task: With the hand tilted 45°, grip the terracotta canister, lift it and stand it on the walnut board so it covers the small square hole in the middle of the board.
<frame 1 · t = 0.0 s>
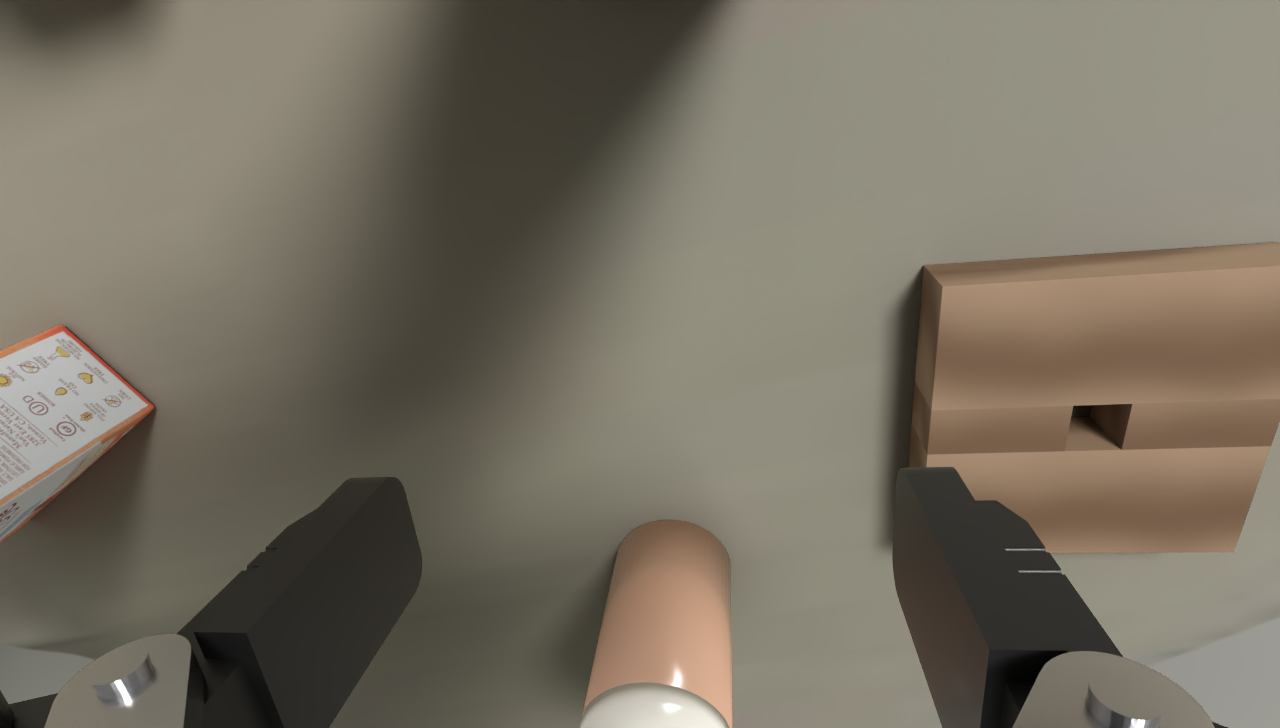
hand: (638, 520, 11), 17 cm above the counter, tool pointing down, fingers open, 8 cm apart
walnut board: (1067, 396, 27), on the counter
terracotta canister: (673, 565, 33), on the counter
cracker box: (53, 430, 35), on the counter
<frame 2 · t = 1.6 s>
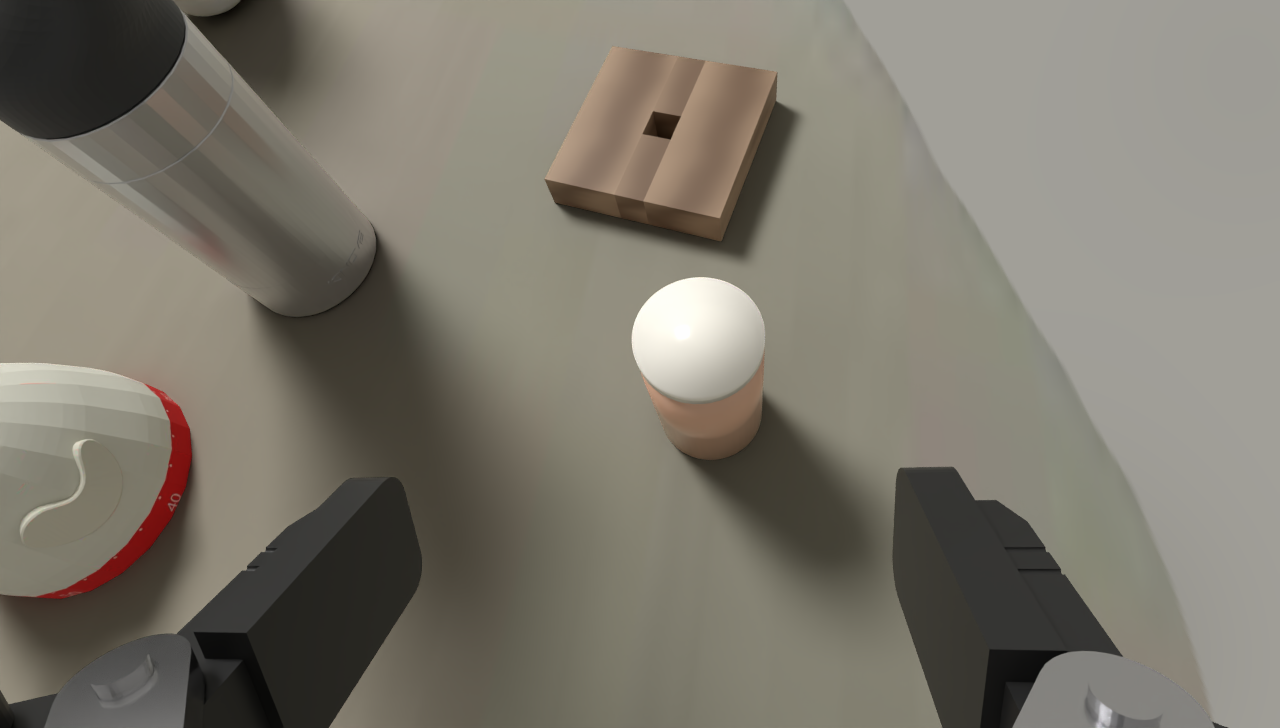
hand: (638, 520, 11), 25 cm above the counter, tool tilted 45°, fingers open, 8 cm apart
walnut board: (666, 151, 46), on the counter
glass bottle: (226, 0, 61), on the counter
terracotta canister: (710, 410, 38), on the counter
kitchen timer: (94, 485, 42), on the counter
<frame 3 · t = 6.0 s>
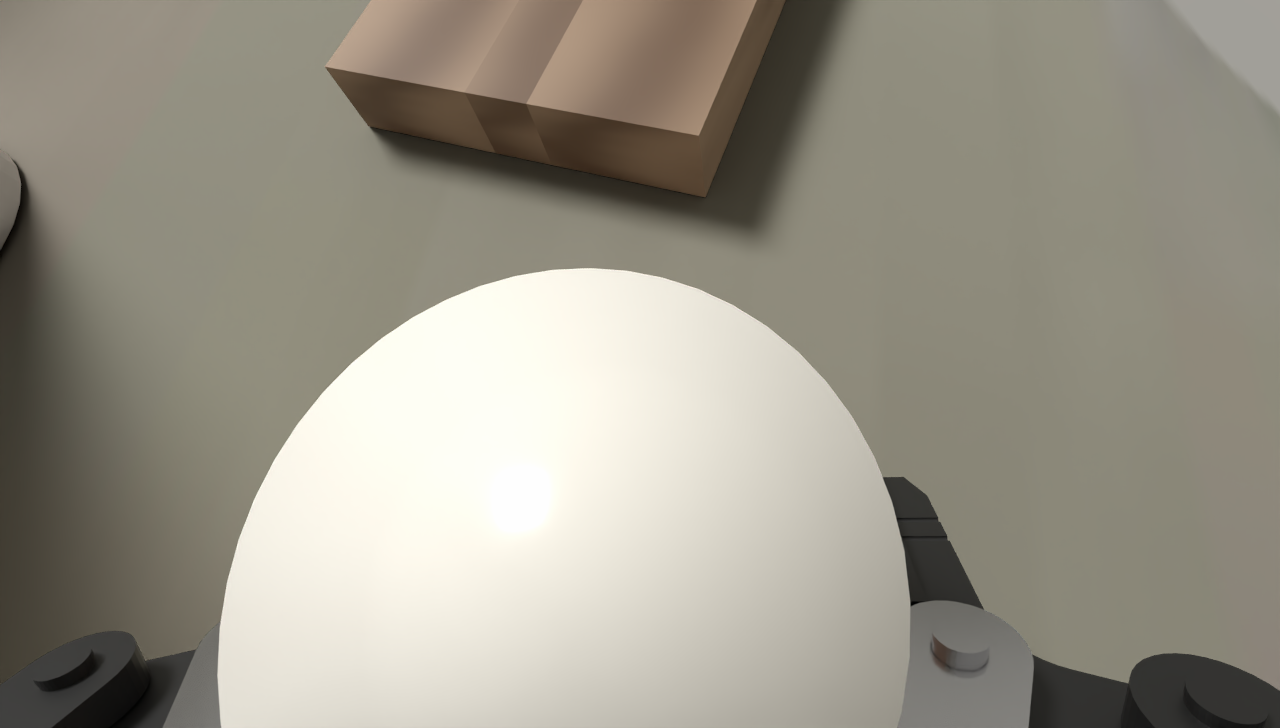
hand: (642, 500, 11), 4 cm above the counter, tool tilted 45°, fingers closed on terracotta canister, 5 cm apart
walnut board: (595, 22, 23), on the counter
terracotta canister: (672, 621, 15), on the counter, touching gripper
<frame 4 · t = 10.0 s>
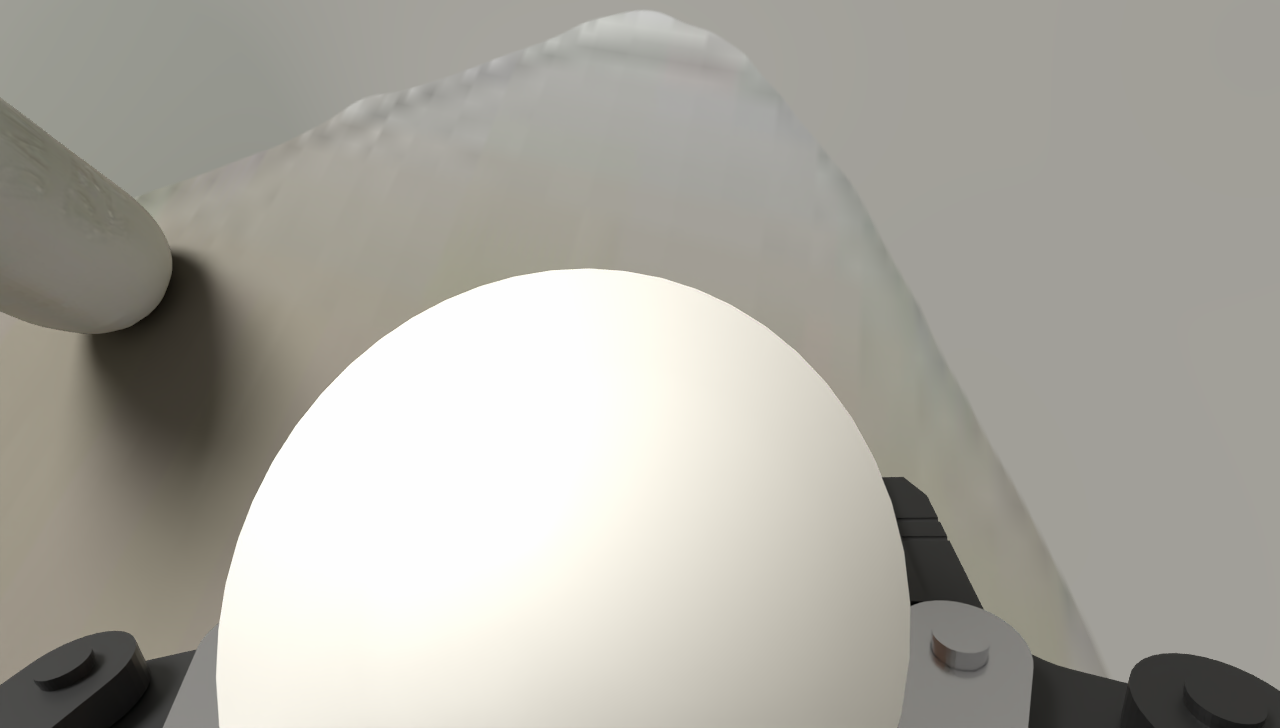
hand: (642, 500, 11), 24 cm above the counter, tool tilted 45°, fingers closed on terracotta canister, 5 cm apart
glass bottle: (143, 294, 48), on the counter
terracotta canister: (672, 621, 15), point 20 cm above the counter, touching gripper
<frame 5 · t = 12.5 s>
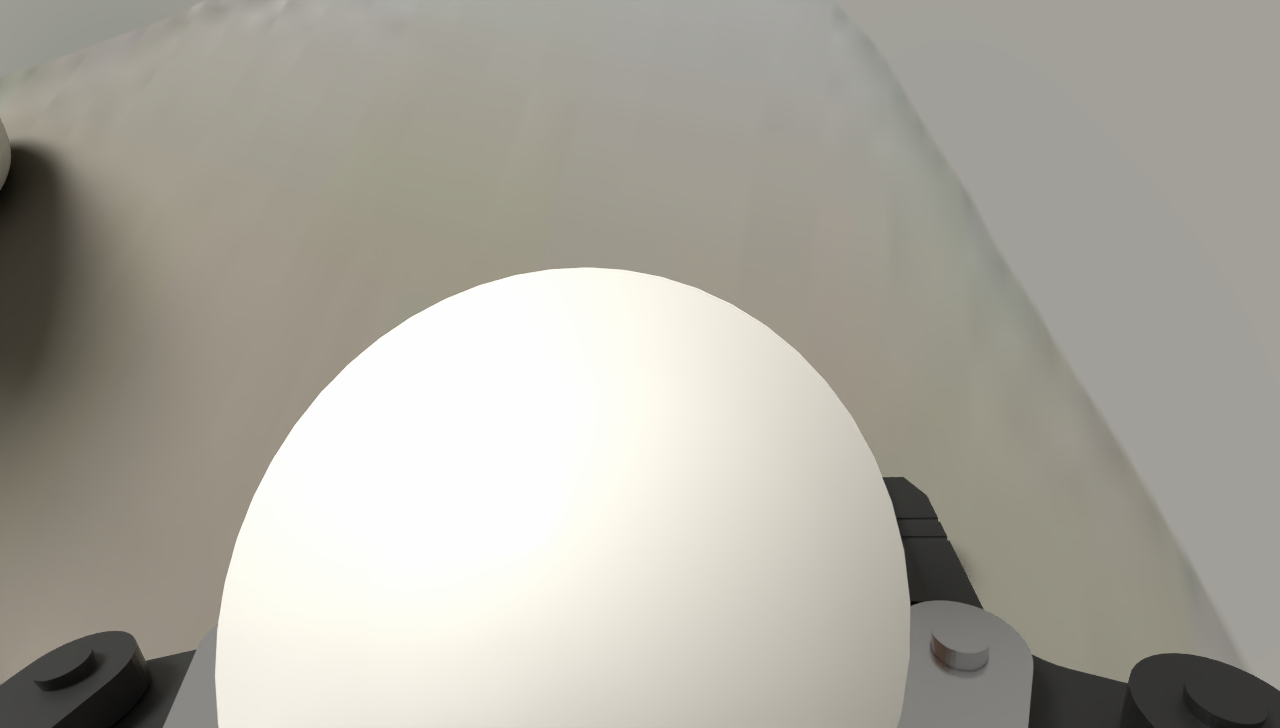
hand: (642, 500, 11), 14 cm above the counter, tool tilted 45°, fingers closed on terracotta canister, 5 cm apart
terracotta canister: (672, 621, 15), point 9 cm above the counter, touching gripper
when the fingers open (8 cm above the counter, at t = 14.4 s): terracotta canister drops 1 cm, resting on walnut board.
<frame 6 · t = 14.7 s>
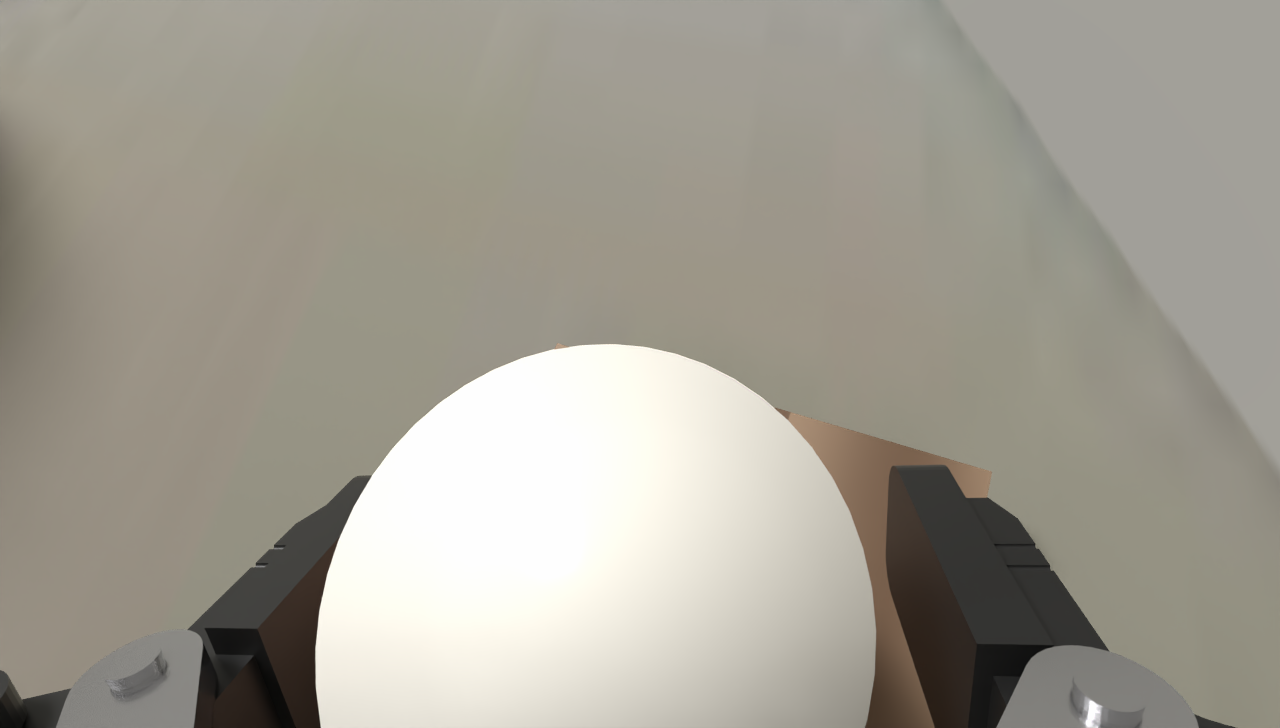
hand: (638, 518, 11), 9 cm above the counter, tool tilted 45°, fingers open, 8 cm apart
walnut board: (688, 628, 18), on the counter
terracotta canister: (679, 630, 16), point 2 cm above the counter, touching walnut board
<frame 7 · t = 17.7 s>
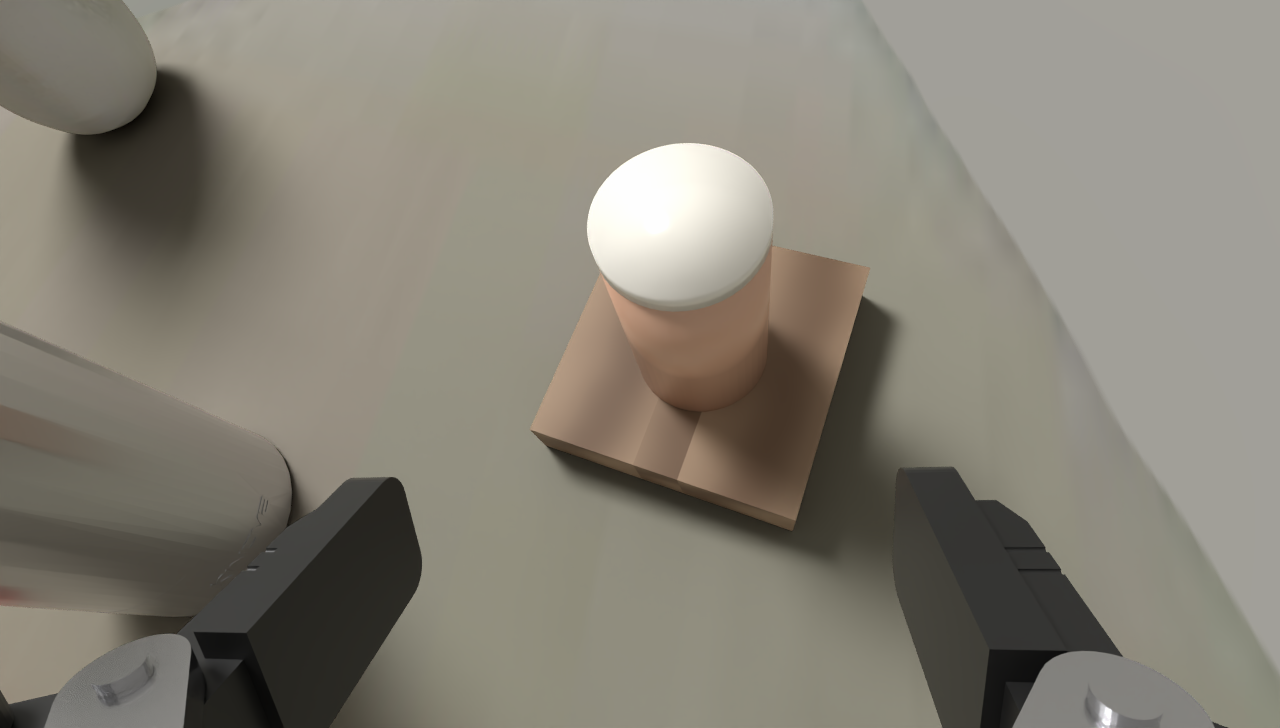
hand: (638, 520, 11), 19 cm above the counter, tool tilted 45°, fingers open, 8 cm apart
walnut board: (705, 369, 32), on the counter
glass bottle: (127, 108, 47), on the counter
terracotta canister: (701, 350, 30), point 2 cm above the counter, touching walnut board
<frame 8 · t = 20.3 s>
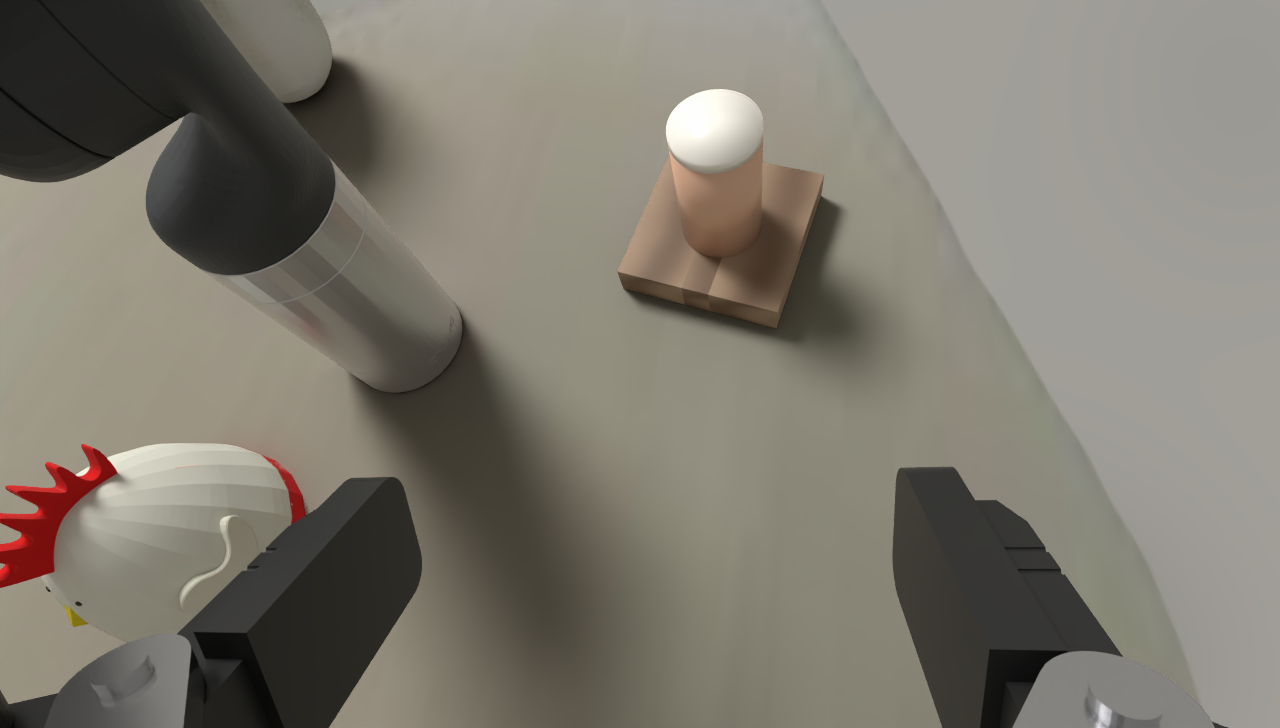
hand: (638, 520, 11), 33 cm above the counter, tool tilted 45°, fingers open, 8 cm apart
walnut board: (722, 241, 51), on the counter
glass bottle: (306, 85, 66), on the counter
terracotta canister: (721, 224, 49), point 2 cm above the counter, touching walnut board
kitchen timer: (218, 546, 48), on the counter
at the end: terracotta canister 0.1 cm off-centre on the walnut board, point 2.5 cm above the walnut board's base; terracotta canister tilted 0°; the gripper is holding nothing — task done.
